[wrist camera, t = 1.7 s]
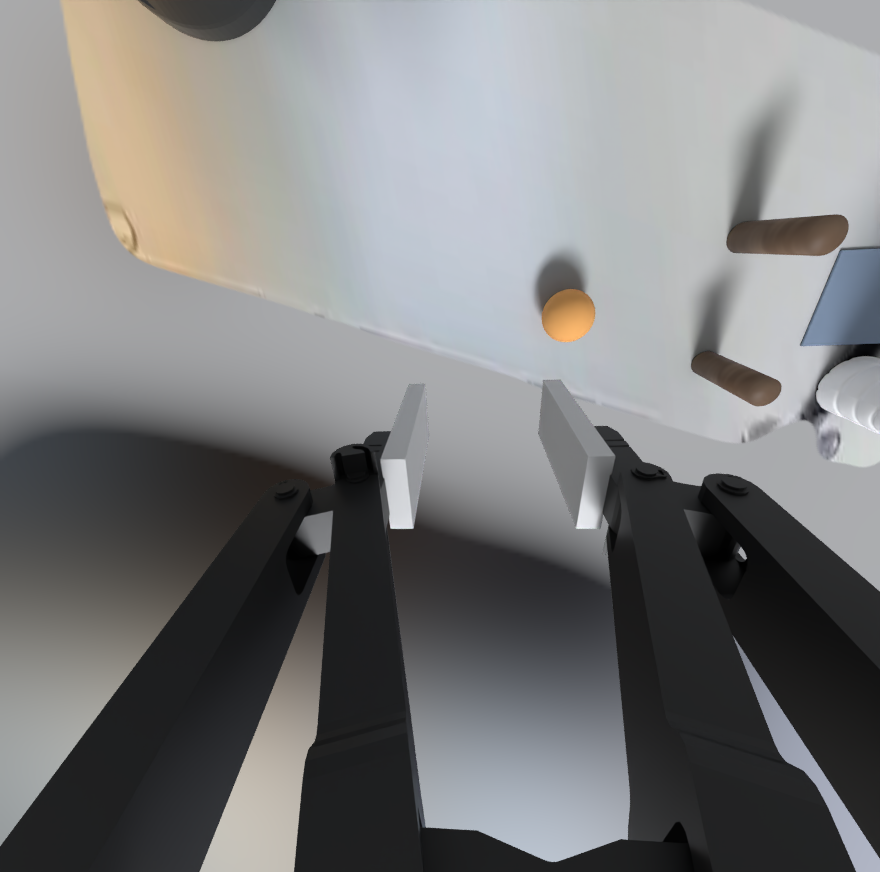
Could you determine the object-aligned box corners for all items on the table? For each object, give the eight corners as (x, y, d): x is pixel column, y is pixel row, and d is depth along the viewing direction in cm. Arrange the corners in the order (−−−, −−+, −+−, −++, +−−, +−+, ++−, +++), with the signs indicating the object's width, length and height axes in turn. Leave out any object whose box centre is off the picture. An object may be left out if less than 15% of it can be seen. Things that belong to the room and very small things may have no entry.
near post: (731, 222, 33) (816, 215, 25) (761, 220, 33) (855, 213, 25) (722, 253, 35) (800, 256, 27) (751, 252, 34) (838, 254, 26)
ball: (539, 287, 37) (549, 293, 32) (589, 285, 36) (606, 290, 32) (535, 336, 39) (545, 348, 35) (582, 335, 39) (598, 346, 34)
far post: (695, 351, 39) (754, 379, 31) (720, 350, 39) (786, 378, 31) (688, 374, 40) (743, 406, 32) (712, 373, 40) (774, 405, 32)
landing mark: (840, 250, 34) (842, 250, 34) (944, 245, 33) (947, 245, 33) (800, 345, 38) (801, 346, 38) (892, 342, 37) (894, 342, 37)
